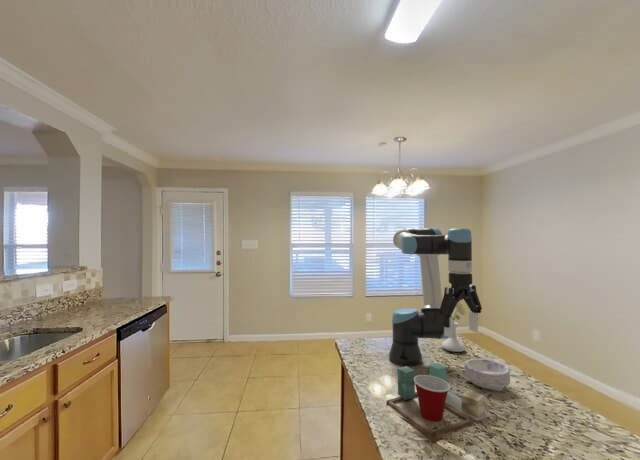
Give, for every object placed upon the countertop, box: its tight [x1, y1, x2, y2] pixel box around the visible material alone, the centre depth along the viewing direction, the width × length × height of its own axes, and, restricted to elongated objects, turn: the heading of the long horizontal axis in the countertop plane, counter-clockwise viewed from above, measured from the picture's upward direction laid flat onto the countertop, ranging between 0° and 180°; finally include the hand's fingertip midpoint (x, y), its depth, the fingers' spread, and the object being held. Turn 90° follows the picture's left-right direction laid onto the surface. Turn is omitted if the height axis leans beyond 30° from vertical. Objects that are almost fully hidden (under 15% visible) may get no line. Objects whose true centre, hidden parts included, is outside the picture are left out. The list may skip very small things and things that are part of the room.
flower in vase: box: [441, 301, 466, 353], centre depth 154 cm, size 13×11×25 cm
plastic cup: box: [414, 374, 451, 423], centre depth 93 cm, size 11×11×12 cm
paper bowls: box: [464, 358, 511, 392], centre depth 115 cm, size 15×15×8 cm
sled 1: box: [385, 365, 475, 444], centre depth 95 cm, size 22×16×11 cm
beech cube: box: [460, 389, 486, 417], centre depth 95 cm, size 5×5×5 cm
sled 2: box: [429, 362, 492, 422], centre depth 100 cm, size 20×7×10 cm, turn 26°
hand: (461, 333), depth 104 cm, fingers open, 13 cm apart
